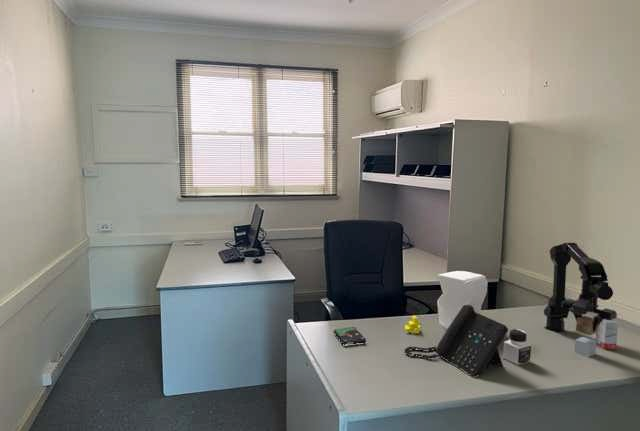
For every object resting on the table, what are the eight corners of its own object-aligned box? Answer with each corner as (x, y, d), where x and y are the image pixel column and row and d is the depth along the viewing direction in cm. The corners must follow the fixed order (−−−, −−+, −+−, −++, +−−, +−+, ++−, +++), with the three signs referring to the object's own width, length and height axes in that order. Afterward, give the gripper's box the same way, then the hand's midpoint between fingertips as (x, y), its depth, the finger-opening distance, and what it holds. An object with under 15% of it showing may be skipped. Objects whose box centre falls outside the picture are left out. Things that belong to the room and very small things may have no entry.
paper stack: (427, 324, 208) (429, 272, 205) (468, 315, 221) (470, 266, 218) (461, 340, 190) (463, 283, 187) (502, 329, 202) (505, 276, 199)
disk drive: (366, 345, 185) (354, 332, 199) (366, 339, 185) (354, 326, 199) (343, 348, 182) (332, 334, 197) (343, 341, 182) (333, 328, 196)
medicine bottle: (518, 365, 166) (520, 335, 165) (502, 358, 172) (504, 329, 171) (530, 361, 169) (532, 332, 168) (514, 354, 176) (516, 326, 174)
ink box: (616, 350, 180) (618, 323, 179) (603, 349, 181) (605, 322, 180) (607, 342, 188) (609, 316, 187) (594, 341, 189) (597, 315, 188)
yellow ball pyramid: (401, 330, 200) (401, 314, 199) (415, 328, 204) (415, 312, 203) (409, 335, 195) (409, 319, 194) (423, 332, 198) (423, 316, 198)
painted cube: (574, 352, 178) (575, 339, 178) (581, 349, 181) (582, 336, 181) (588, 357, 174) (589, 344, 173) (595, 354, 177) (596, 341, 176)
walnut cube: (575, 330, 177) (576, 318, 177) (582, 328, 180) (583, 315, 180) (590, 335, 173) (591, 322, 172) (596, 332, 176) (598, 319, 175)
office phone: (400, 351, 178) (401, 304, 176) (454, 340, 190) (456, 296, 188) (448, 384, 152) (451, 329, 149) (507, 369, 164) (510, 318, 161)
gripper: (555, 289, 178) (553, 325, 180) (605, 301, 162) (601, 341, 164) (570, 285, 184) (567, 320, 186) (619, 297, 168) (615, 335, 170)
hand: (586, 329), depth 176 cm, fingers closed on walnut cube, 5 cm apart
